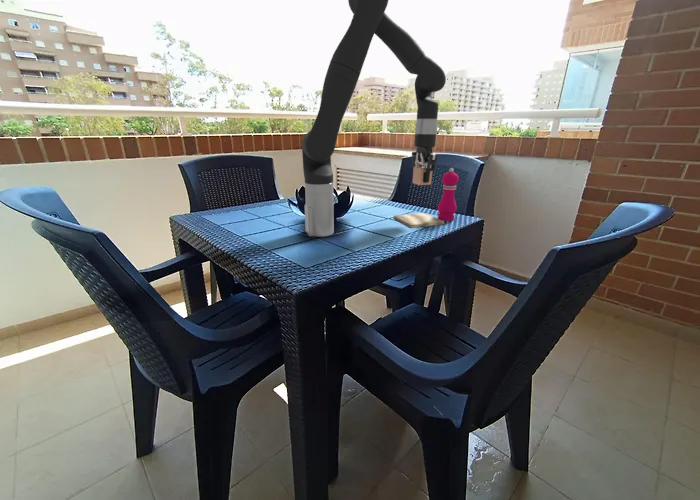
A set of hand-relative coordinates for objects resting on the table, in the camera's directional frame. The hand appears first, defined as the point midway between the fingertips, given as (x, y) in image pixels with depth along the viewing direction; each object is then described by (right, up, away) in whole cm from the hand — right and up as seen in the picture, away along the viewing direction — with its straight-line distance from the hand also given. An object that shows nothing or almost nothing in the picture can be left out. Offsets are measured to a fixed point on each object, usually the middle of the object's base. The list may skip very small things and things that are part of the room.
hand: (421, 181), depth 119 cm
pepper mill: (+12, -14, +8) cm, 20 cm away
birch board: (0, -14, +6) cm, 15 cm away
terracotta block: (0, -1, 0) cm, 1 cm away
